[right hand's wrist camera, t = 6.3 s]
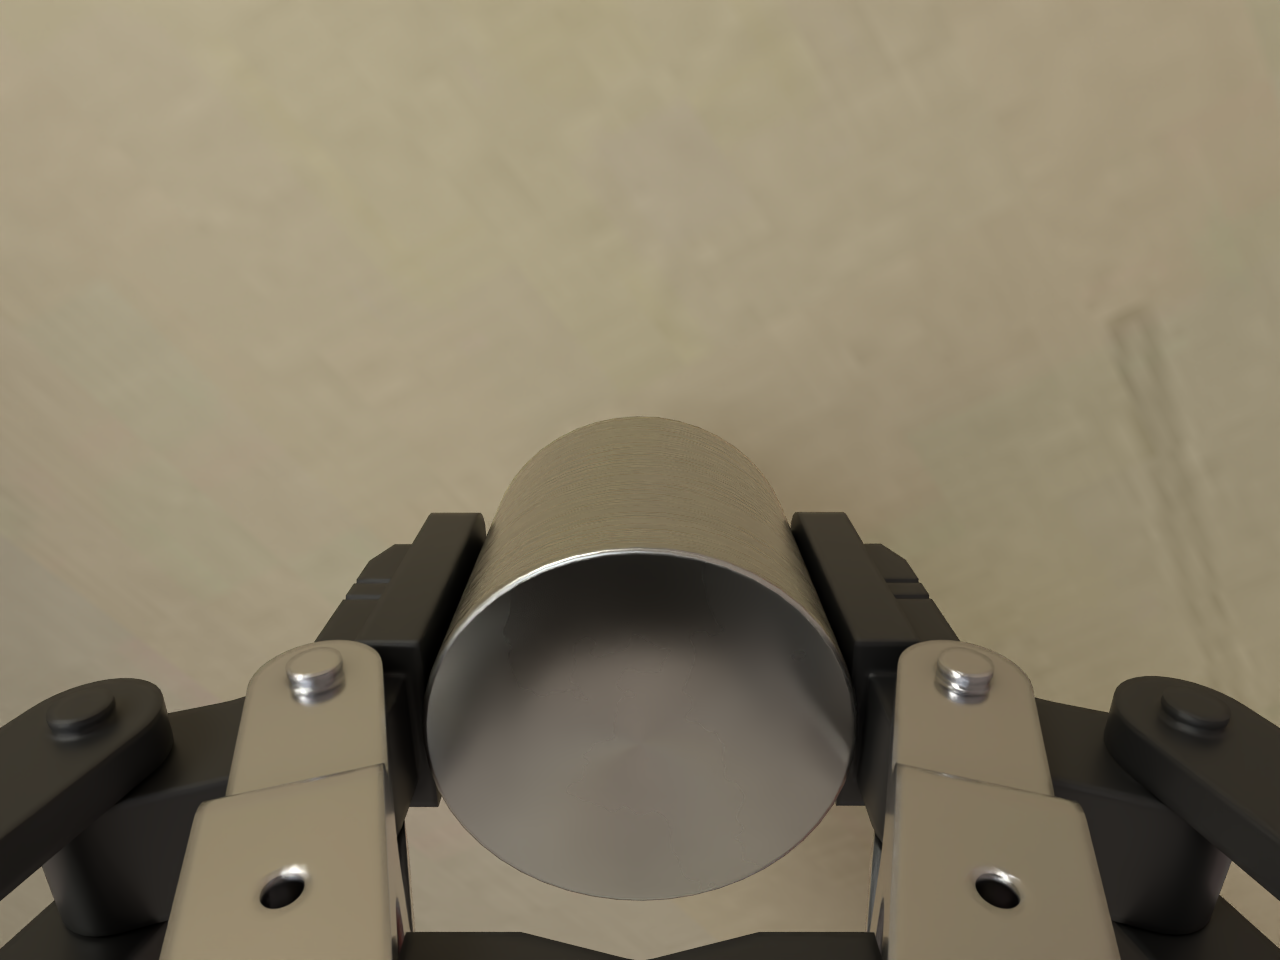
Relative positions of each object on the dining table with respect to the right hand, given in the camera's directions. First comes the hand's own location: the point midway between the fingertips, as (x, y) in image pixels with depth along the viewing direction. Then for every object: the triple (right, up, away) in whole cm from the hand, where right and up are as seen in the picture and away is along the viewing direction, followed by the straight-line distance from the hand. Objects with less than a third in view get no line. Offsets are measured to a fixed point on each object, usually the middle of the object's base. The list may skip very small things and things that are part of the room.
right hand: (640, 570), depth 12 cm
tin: (0, 0, 0) cm, 0 cm away
